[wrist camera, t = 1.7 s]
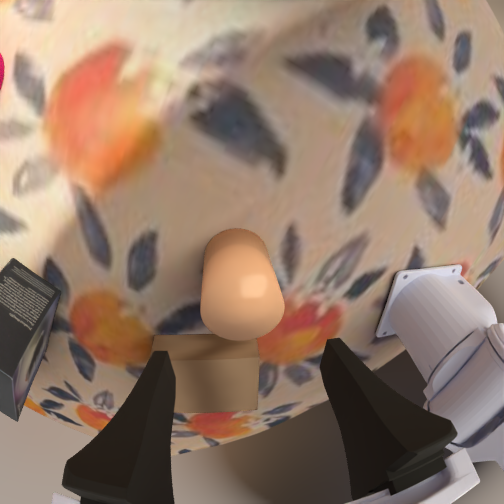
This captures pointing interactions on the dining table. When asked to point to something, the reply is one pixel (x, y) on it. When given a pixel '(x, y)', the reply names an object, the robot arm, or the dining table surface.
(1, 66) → the pepper mill
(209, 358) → the tan square base block
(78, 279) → the dining table surface
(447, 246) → the dining table surface
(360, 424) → the robot arm
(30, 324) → the small box
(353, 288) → the dining table surface
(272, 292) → the peach domed cylinder
